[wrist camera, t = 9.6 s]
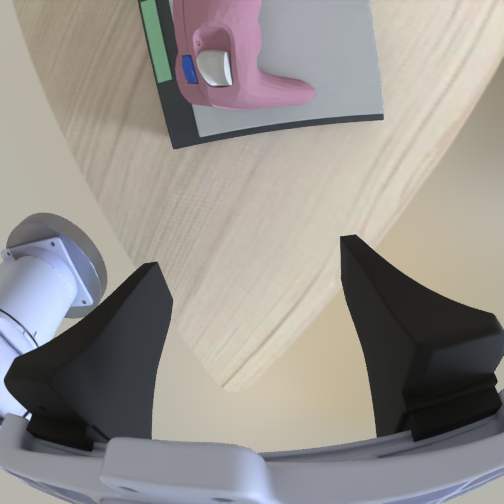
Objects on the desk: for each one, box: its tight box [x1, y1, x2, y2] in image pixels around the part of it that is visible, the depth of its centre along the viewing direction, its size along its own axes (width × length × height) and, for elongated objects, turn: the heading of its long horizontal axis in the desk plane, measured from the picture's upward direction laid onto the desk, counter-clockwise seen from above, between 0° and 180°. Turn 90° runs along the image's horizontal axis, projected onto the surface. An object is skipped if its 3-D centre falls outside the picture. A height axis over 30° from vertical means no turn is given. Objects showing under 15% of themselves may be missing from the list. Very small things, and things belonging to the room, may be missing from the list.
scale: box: [138, 0, 384, 149], centre depth 14 cm, size 12×13×3 cm
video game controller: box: [173, 0, 316, 110], centre depth 10 cm, size 10×5×7 cm
